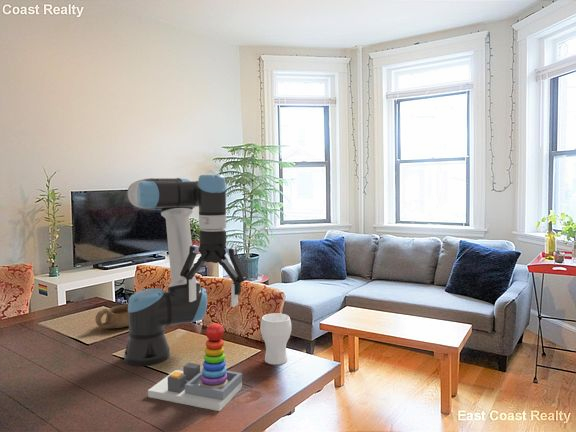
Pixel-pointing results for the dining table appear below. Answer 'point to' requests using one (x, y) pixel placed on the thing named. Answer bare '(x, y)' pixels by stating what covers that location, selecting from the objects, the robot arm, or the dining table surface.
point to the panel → (188, 396)
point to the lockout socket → (213, 393)
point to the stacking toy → (214, 359)
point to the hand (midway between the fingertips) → (213, 303)
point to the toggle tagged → (176, 382)
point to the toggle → (191, 370)
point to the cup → (275, 336)
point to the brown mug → (114, 317)
